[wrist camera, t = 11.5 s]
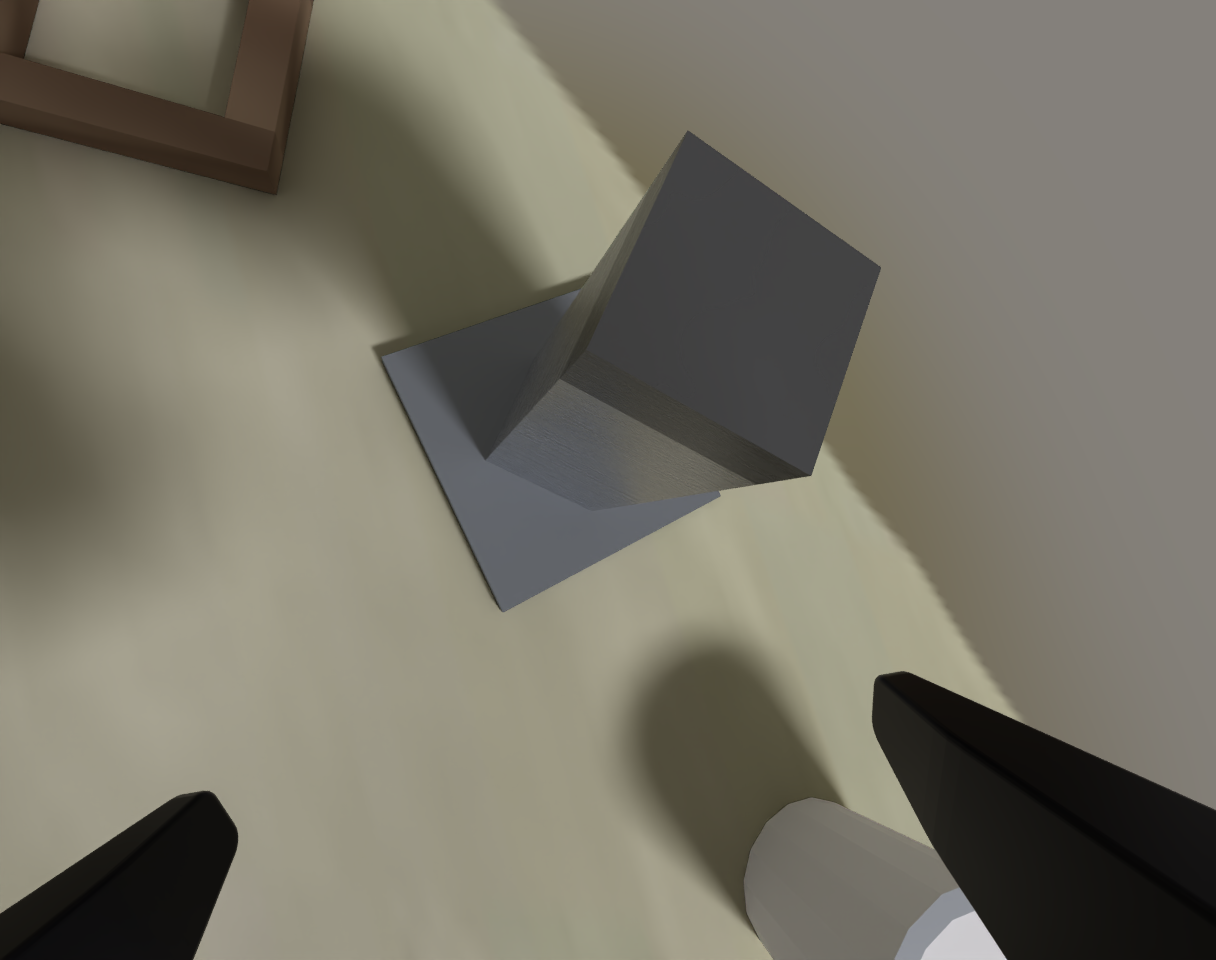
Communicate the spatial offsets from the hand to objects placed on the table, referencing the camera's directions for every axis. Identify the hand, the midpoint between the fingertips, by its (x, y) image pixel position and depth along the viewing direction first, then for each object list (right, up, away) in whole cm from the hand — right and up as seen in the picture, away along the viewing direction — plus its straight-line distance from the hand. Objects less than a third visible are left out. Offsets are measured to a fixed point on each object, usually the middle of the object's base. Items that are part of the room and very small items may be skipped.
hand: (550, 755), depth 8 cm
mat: (-1, +5, +12) cm, 14 cm away
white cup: (+8, -11, +14) cm, 20 cm away
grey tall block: (-1, +5, +12) cm, 13 cm away
